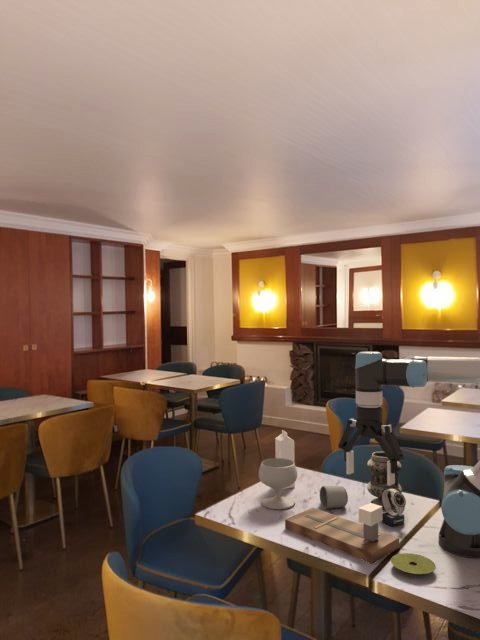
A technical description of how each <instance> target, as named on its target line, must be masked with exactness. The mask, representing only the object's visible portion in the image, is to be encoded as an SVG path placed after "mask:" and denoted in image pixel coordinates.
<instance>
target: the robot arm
mask: <svg viewBox="0 0 480 640" xmlns="http://www.w3.org/2000/svg"><path fill="white" fill-rule="evenodd" d="M354 370H355V404H356V406H355V418H356V419H355V418H354V417H353V418H349V419H347V421H346V422H347V423H346V427H345V429H344V432H343V434H342V436H341V439H340V441H339V443H338V446H337V447H338V449H341V450H343V452H344V453H343V454H344V459H343V460H344V462H345V463H346V464H345V465H346V468H345V469H346V472H345V473H346V475H348V476H349V475H352V474H354V473H355V459H354V457H355V456H354V455H355V454H354V450H353V448H354V447H355V445H357V444H358V442H359V441H360V439H362V437H363V438H368V439H370V440H374V441H375V442H377V443H378V445H379V446H380V448H381V450H382V452H384V453H385V454H386V456H387V457H388V459H389V460H390V461H388V462H387V485H389V486H390V485H392V484H395V473H397V461H399V462H400V461H403V460H404V458H405V456H404V454H403V452H402V449H401V447H400V445H399V442H398V440H397V438H396V435H395V433H394V427H393V424H387V425H386V424H385V425H384V423H383V418H384V407H383V406H382V405H383V386H388V387H389V386H392V387H407V388H410V387H411V388H424V387H425V386H426V385H427V383H428V382H430V383H431V382H433V383H455V384H472V385H473V384H475V385H476V384H478V385H480V357H471V356H470V357H469V356H468V357H467V356H466V357H465V356H464V357H463V356H462V357H461V356H460V357H457V356H456V357H455V356H418V355H417V356H416V355H414V354H413V355H412V354H411V355H405V356H403V357H401V358H400V359H387V358H384V357H383V354H382V353H381V352H380V351H359V352H358V353H357V354H355V366H354ZM355 427H356V428H357V430H356V431H355V432H354V429H355ZM353 432H354V435H353V436H352V434H353ZM351 436H352V437H351ZM443 478H444V481H443V485H444V486H443V487H444V488H443V494H442V499H441V501H440V502H441V503H440V510H441V513H442V517H443V520H442V523H441V525H440V528H439V532H438V544H439V545H440V547H442V548H443V549H444V550H446V551H448V552H450V553H452V554H454V555H457V556H462V557H466V558H473V559H474V558H477V559H478V558H479V559H480V459H479V460H478V462H477V463H476V464H475V465H474V466H471V465H469V466H468V465H464V464H463V465H462V464H461V465H460V464H459V465H458V464H452V465H450V464H449V465H447V466H445V467H444V472H443Z"/></svg>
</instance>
